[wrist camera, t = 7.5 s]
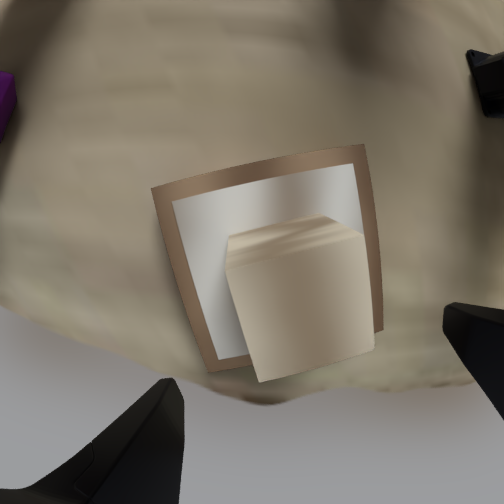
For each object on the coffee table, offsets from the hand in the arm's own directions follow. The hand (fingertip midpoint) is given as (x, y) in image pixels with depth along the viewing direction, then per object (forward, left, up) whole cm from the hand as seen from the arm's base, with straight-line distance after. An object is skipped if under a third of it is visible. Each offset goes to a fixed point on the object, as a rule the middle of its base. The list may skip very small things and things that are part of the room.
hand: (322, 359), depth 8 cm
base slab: (0, 0, -12) cm, 12 cm away
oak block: (0, 0, -9) cm, 9 cm away
